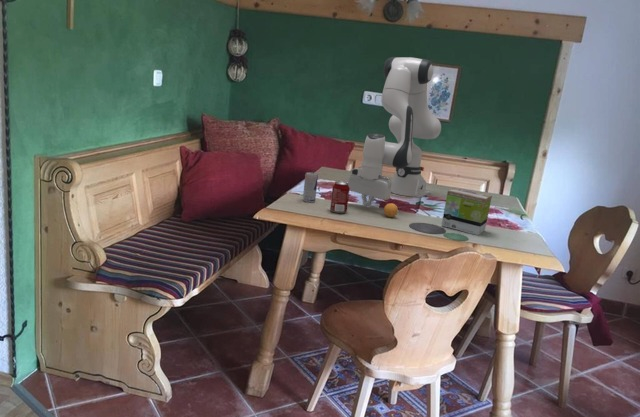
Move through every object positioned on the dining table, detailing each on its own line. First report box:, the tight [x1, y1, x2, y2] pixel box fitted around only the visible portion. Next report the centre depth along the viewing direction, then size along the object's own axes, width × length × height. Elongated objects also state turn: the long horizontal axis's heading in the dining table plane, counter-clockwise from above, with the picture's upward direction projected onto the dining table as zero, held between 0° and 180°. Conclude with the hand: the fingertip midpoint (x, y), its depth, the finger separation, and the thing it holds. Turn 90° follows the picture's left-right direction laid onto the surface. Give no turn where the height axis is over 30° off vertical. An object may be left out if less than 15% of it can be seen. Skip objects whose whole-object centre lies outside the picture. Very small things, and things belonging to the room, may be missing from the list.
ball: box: [383, 202, 399, 218], centre depth 210 cm, size 6×6×6 cm
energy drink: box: [302, 172, 319, 203], centre depth 221 cm, size 5×5×12 cm
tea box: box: [441, 187, 493, 236], centre depth 203 cm, size 15×10×15 cm, turn 58°
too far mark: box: [443, 232, 469, 242], centre depth 192 cm, size 9×9×1 cm
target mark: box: [408, 222, 447, 235], centre depth 199 cm, size 14×14×1 cm
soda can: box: [329, 180, 350, 214], centre depth 208 cm, size 7×7×12 cm
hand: (366, 205), depth 218 cm, fingers closed
